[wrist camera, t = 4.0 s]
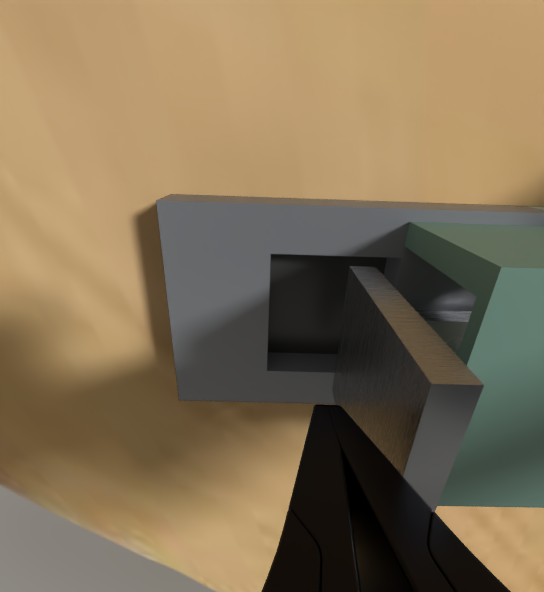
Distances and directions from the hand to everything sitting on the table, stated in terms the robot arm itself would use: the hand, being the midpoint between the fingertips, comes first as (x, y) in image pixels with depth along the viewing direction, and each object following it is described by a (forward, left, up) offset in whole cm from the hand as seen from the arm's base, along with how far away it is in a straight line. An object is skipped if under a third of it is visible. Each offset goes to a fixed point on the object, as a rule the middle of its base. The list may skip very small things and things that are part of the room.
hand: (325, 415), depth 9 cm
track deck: (-5, 0, -8) cm, 10 cm away
